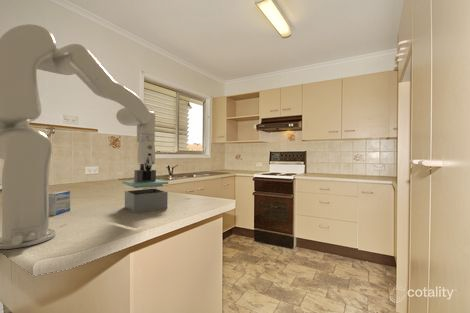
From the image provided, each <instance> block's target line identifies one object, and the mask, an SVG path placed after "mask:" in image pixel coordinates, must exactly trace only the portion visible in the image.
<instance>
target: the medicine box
mask: <svg viewBox="0 0 470 313" xmlns="http://www.w3.org/2000/svg"><path fill="white" fill-rule="evenodd" d="M69 211H71V191H70V190H60V191H55V192H51V193H50V192H49V216H58V215H62V214H64V213H67V212H69Z"/></svg>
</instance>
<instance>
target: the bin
mask: <svg viewBox="0 0 470 313" xmlns="http://www.w3.org/2000/svg"><path fill="white" fill-rule="evenodd" d="M168 194H169V193H168V191H166V190H163V189H161V188H157V187H151V188H142V189H133V190H125V191H124V208H125V209H126V210H129V212H131V213H133V214H139V213H140V214H141V213H145V212H151V211H158V210H163V209H168Z"/></svg>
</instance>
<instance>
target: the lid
mask: <svg viewBox="0 0 470 313" xmlns="http://www.w3.org/2000/svg"><path fill="white" fill-rule="evenodd" d="M143 171H144V170H140V169H135V170H134V171H133V172H134V174H133V175H134V177H133V178H134V179H132V180H122V184H124V185H126V186H128V187H131V188H133V189H141V188H142V189H146V188H157V187H164V185H169V181H167V180H166V181H165V180H162V179H161V180H160V179H157V174H156V173H157V170H156V169H151V180H145V181H144V180H143Z"/></svg>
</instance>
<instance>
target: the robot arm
mask: <svg viewBox="0 0 470 313" xmlns="http://www.w3.org/2000/svg"><path fill="white" fill-rule="evenodd" d="M38 70H40V71H44V72H48V73H52V74H53V73H54V74H58V75H64V76H72V75H76V76H77V77H78V78H79V80H81V81H82V82H83V84H84V85H86V86H87V88H88V89H90V90H91V92H92V93H93V94H94V95H96V96H98V97H101V98H103V99H107V100H110V101H113V102H116V103H117V104H120V105H121V106H123V108H121V109H119V110H118V111H116V116H115V118H116V119H117V122H118V123H119V124H120V125H123V126H127V127H130V126H131V127H133V126H134V127H136V143H137V144H138V146H137V163H138V165H139V170H144V171H143V180H144V181H145V180H151V170H152V166H153V165H154V164H155V163H156V147H155V146H156V145H155V143H156V114H155V112H154V111H151V110H149V108H148V107H147V105H146V104H145V102H143V100H142V99H141V97H139V95H137V94H136V93H135V92H134V91H132V90H130V89H129V88H127V87H126V86H124V85H123V84H121V83H120V82H117V81H116V80H115V79H113V77H112V76H111V75H110V74H109V72H108V71H107V70H106V69H105V68H104V67H103V66H102V65H101V62H99V61H98V59H97V58H96V57H95V56H94V55H93V54H92V53H91V52H90V50H89V49H88V48H86V46H84V45H82V44H79V43H72V44H68V45H65V46H62V47H59V48H57V42H56V40H55V37H54V35H53V33H51V31H49V30H48V29H47V28H46V27H44V26H41V25H38V24H33V23H32V24H30V23H29V24H22V25H17V26H13V27H12V28H10V29H7V31H5V32H4V33H3V34H2V35H1V36H0V159H1V160H3V167H2V171H1V237H0V250H9V249H11V250H13V249H18V248H19V249H21V248H25V247H29V246H33V245H34V246H35V245H38V244H40V243H43V242H47V241H49V240H51V239H53V238H54V237H55V236H56V230H55V229H52V228H50V226H49V225H50V221H49V219H50V215H49V194H50V192H49V190H50V183H49V181H50V180H49V178H50V177H49V176H50V174H49V173H50V164H51V163H50V162H51V158H52V153H53V145H52V144H53V143H52V141H51V138H49V136H48V135H47V134H46V133H44V132H43V131H41V130H39V129H36V128H32V127H31V126H30V123H31V122H34V121H36V120H38V119H39V118H40V116H41V114H42V104H41V100H40V93H39V87H38V80H37V78H38V77H37V71H38Z"/></svg>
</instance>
